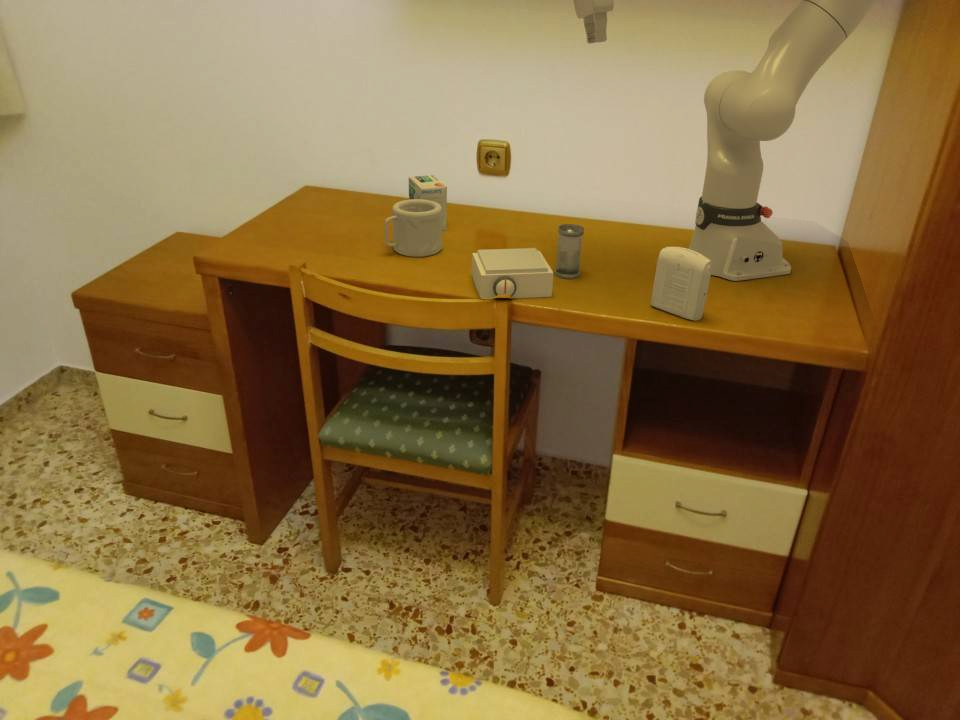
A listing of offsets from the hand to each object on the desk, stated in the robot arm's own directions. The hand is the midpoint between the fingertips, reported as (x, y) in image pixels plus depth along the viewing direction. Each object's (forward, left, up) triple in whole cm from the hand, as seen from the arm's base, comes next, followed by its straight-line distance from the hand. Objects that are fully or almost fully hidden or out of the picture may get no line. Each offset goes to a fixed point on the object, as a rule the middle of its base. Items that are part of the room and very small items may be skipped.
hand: (596, 42), depth 137 cm
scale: (+16, +7, -45) cm, 48 cm away
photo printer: (-14, +22, -45) cm, 52 cm away
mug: (+34, -15, -45) cm, 58 cm away
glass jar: (+2, +2, -45) cm, 45 cm away
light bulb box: (+29, -32, -45) cm, 62 cm away
